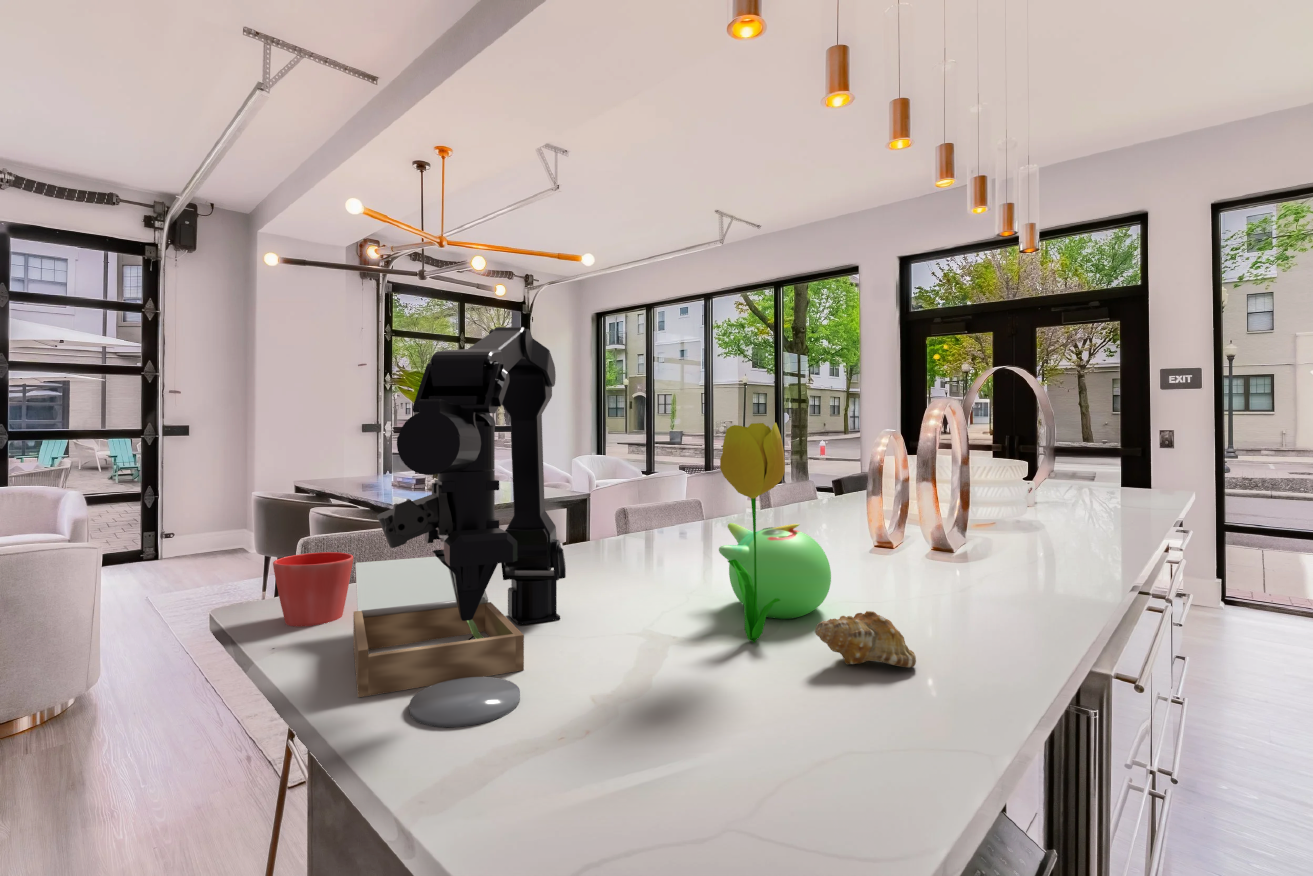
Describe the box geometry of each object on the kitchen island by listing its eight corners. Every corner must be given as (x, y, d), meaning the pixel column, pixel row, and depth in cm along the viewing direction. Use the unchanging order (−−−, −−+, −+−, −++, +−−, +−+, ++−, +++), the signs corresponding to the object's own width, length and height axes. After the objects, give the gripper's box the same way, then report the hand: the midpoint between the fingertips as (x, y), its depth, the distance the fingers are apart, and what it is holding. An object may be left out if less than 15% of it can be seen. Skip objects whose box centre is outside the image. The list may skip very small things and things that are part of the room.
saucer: (506, 677, 73) (506, 670, 73) (532, 713, 64) (532, 705, 64) (404, 694, 68) (404, 687, 68) (416, 736, 59) (416, 727, 59)
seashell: (887, 707, 71) (841, 631, 71) (839, 696, 78) (798, 627, 78) (933, 655, 75) (890, 583, 75) (883, 650, 82) (844, 584, 82)
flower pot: (320, 633, 91) (320, 565, 91) (255, 628, 93) (256, 562, 94) (368, 613, 102) (368, 553, 102) (308, 610, 104) (308, 551, 104)
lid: (473, 614, 101) (473, 553, 101) (488, 633, 91) (488, 565, 91) (355, 629, 93) (355, 562, 93) (357, 650, 83) (358, 576, 83)
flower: (792, 641, 87) (791, 422, 87) (778, 659, 80) (777, 420, 80) (732, 633, 91) (731, 423, 91) (713, 650, 83) (712, 422, 84)
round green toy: (837, 635, 90) (837, 531, 90) (718, 630, 92) (718, 529, 92) (825, 604, 107) (824, 517, 108) (725, 600, 110) (724, 515, 110)
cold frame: (490, 631, 92) (490, 596, 92) (523, 670, 76) (523, 628, 76) (353, 649, 84) (353, 611, 84) (358, 697, 68) (358, 650, 68)
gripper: (377, 469, 71) (376, 608, 71) (390, 476, 54) (390, 658, 54) (478, 467, 76) (478, 597, 76) (518, 473, 59) (518, 640, 59)
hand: (466, 619), depth 66 cm, fingers closed
